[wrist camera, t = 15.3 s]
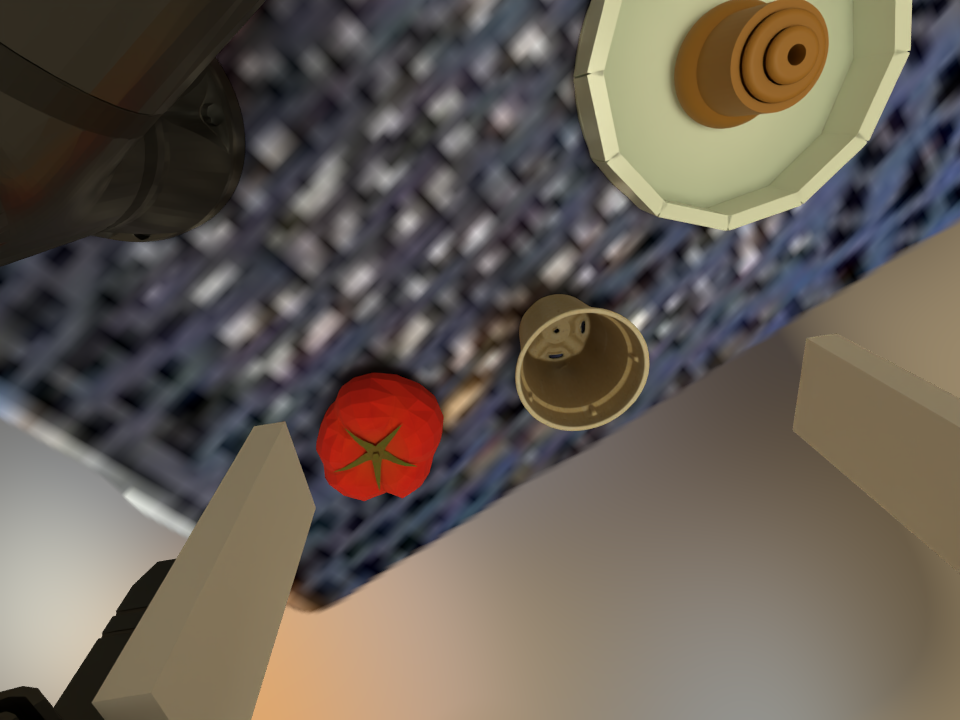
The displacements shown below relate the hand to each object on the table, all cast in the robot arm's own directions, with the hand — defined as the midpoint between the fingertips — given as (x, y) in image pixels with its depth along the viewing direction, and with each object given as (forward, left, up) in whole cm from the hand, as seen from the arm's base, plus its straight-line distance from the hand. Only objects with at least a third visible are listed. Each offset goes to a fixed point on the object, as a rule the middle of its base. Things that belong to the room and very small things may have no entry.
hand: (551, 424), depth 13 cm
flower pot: (+11, -2, -29) cm, 31 cm away
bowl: (+6, +19, -29) cm, 35 cm away
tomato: (+5, -18, -29) cm, 35 cm away
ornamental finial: (+6, +19, -28) cm, 34 cm away
